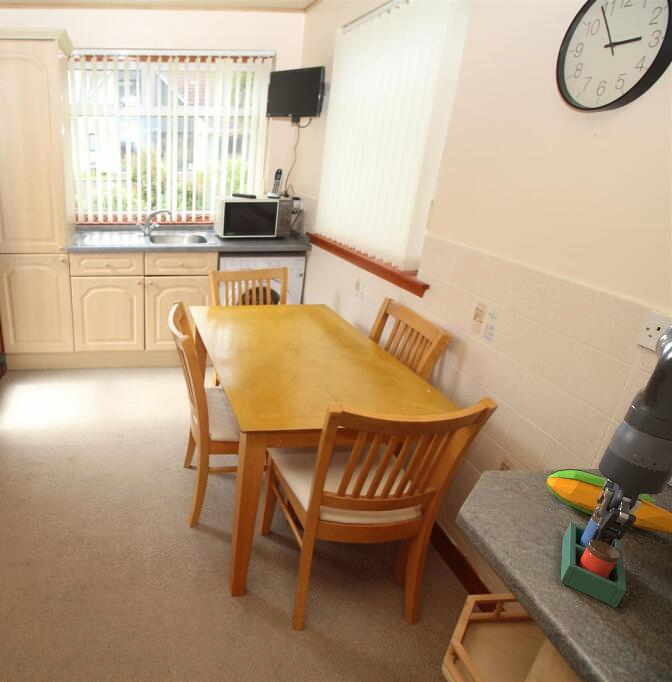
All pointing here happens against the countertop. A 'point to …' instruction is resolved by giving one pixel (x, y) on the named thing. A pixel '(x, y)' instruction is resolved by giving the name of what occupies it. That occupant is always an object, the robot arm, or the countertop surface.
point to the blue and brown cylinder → (591, 529)
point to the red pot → (599, 558)
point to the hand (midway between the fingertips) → (596, 541)
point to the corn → (585, 491)
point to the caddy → (584, 579)
